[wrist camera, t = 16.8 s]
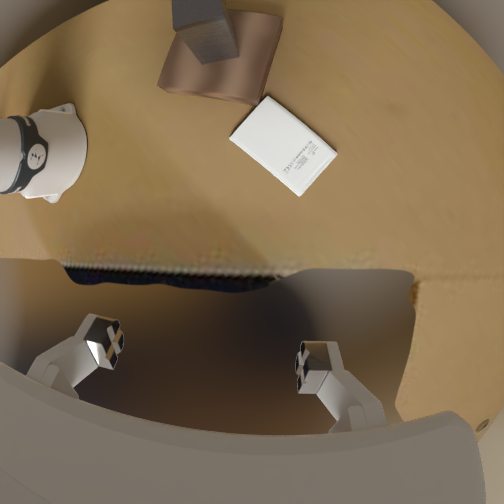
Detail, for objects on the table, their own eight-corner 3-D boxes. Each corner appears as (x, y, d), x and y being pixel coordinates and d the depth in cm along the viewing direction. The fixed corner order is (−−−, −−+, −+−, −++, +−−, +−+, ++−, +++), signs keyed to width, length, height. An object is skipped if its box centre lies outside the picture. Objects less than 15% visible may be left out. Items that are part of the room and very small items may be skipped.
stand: (167, 92, 34) (156, 85, 30) (194, 19, 30) (187, 8, 26) (258, 107, 34) (256, 99, 30) (282, 29, 29) (282, 17, 26)
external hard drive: (268, 98, 34) (336, 154, 35) (230, 140, 36) (298, 196, 37) (267, 94, 32) (338, 153, 33) (228, 138, 34) (299, 197, 36)
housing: (201, 64, 29) (173, 28, 18) (198, 37, 27) (171, -3, 17) (239, 57, 28) (223, 15, 18) (234, 29, 27) (218, -15, 16)
